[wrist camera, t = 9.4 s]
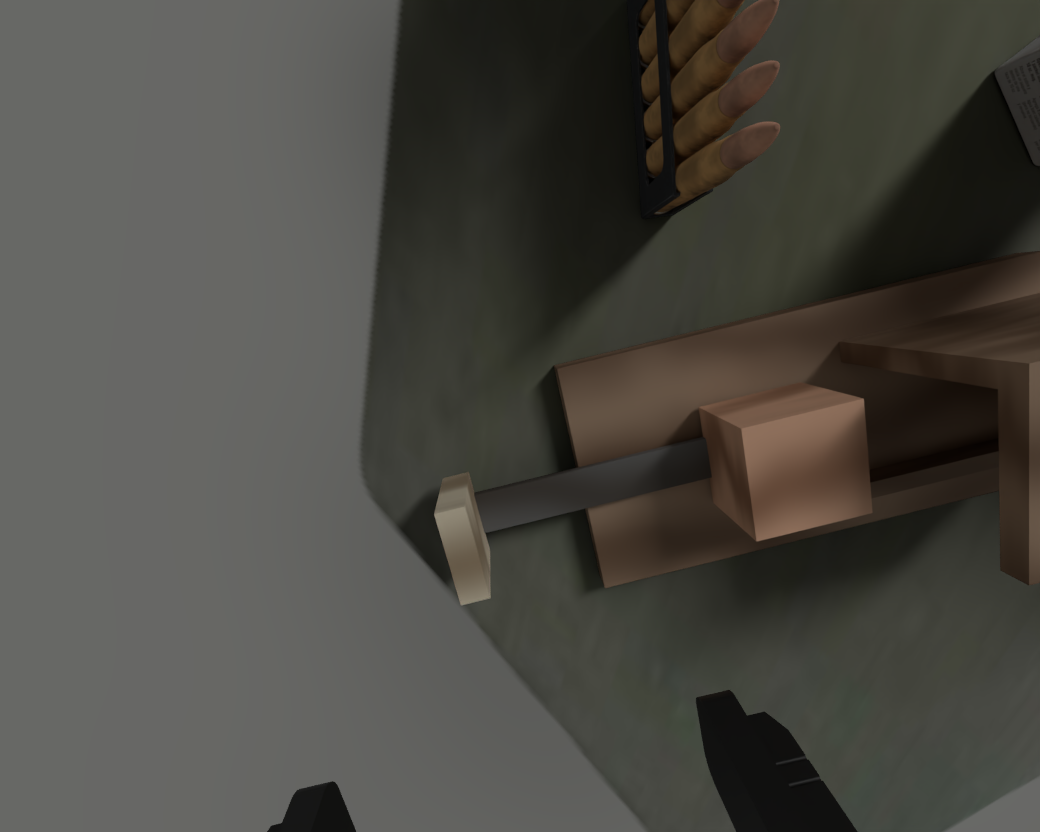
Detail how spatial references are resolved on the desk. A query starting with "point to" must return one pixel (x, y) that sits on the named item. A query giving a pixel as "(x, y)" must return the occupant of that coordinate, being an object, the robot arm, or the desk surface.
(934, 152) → the desk surface
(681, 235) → the desk surface
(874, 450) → the wooden plunger housing
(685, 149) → the ammunition clip
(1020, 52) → the coffee box
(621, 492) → the wooden plunger
